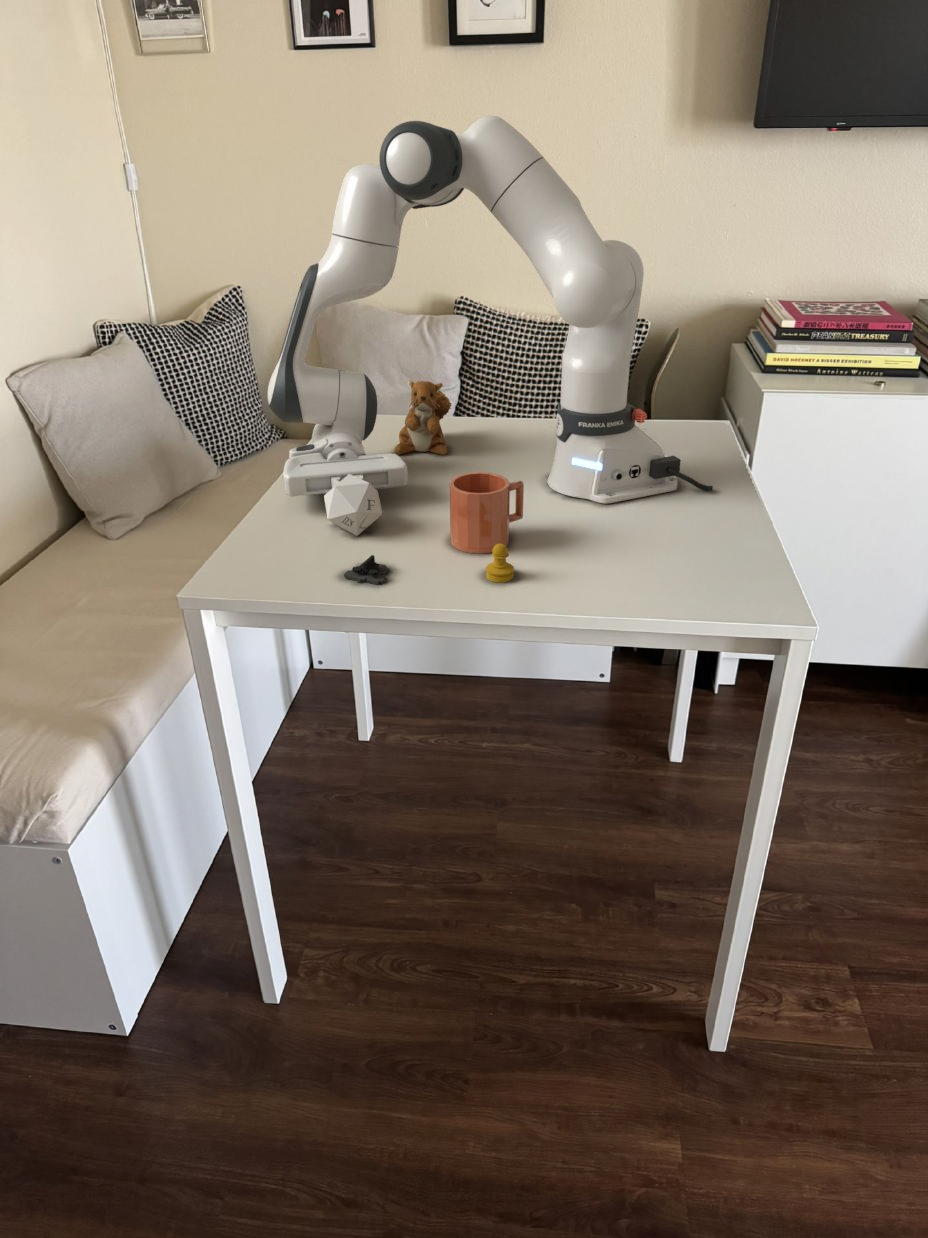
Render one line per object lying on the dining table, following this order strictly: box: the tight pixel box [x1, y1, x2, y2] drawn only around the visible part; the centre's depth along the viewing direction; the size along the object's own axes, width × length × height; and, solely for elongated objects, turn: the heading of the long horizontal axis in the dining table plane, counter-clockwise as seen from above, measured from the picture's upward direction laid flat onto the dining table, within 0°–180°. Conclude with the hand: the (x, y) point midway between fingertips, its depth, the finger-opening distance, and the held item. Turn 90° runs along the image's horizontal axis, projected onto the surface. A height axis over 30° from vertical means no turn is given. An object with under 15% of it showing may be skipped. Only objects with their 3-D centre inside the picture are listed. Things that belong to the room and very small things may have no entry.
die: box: [323, 474, 384, 537], centre depth 140 cm, size 8×9×10 cm
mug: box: [449, 471, 525, 555], centre depth 136 cm, size 12×9×10 cm
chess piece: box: [485, 544, 515, 583], centre depth 126 cm, size 4×4×5 cm
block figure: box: [343, 554, 390, 586], centre depth 128 cm, size 6×2×6 cm
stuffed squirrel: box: [393, 380, 452, 456], centre depth 172 cm, size 10×14×13 cm
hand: (350, 492), depth 142 cm, fingers closed, pressing on die
